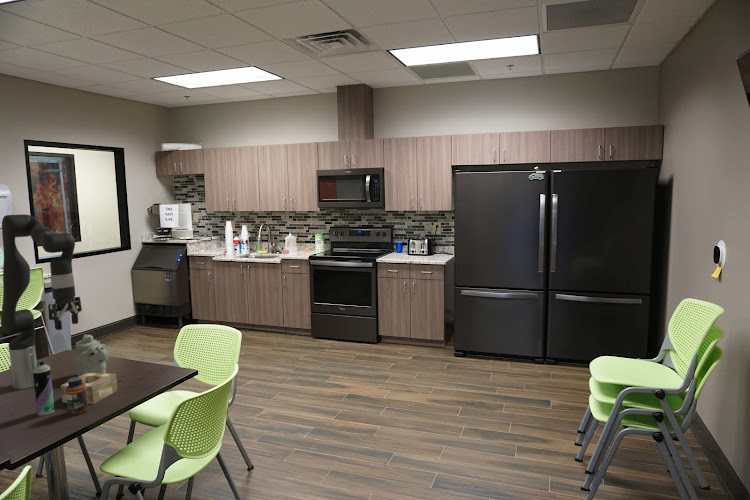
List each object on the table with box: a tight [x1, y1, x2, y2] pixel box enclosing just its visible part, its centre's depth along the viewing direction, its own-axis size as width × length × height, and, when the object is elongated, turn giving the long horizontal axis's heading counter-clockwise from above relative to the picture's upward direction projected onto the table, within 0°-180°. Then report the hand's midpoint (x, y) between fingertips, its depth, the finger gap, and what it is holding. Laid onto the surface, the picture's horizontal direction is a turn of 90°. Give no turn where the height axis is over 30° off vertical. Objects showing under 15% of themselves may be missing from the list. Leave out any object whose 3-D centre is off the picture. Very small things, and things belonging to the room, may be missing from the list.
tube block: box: [60, 373, 118, 405], centre depth 207 cm, size 14×14×7 cm
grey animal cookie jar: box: [74, 334, 110, 377], centre depth 229 cm, size 16×15×19 cm
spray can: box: [33, 360, 55, 416], centre depth 191 cm, size 6×6×20 cm
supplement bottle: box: [66, 376, 89, 416], centre depth 191 cm, size 7×7×13 cm
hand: (67, 326), depth 197 cm, fingers open, 8 cm apart
